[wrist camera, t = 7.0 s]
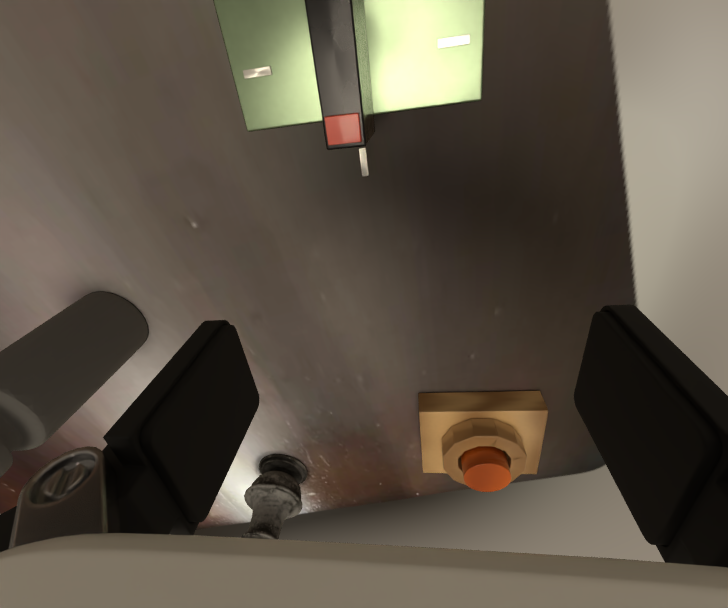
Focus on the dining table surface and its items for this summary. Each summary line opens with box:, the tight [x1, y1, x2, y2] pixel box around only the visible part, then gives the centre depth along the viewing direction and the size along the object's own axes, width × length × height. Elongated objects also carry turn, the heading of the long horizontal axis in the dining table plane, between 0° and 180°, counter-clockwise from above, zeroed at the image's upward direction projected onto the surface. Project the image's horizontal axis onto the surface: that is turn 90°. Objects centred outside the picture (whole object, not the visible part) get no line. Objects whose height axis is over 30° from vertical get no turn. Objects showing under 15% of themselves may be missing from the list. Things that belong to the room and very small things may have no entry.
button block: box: [418, 391, 548, 485], centre depth 31 cm, size 10×8×4 cm
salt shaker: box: [241, 454, 307, 539], centre depth 34 cm, size 6×6×12 cm
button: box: [461, 446, 511, 492], centre depth 29 cm, size 4×4×2 cm
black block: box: [304, 0, 375, 150], centre depth 15 cm, size 6×2×5 cm, turn 6°
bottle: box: [0, 292, 148, 477], centre depth 24 cm, size 6×6×15 cm
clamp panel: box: [213, 0, 485, 176], centre depth 18 cm, size 12×11×3 cm
